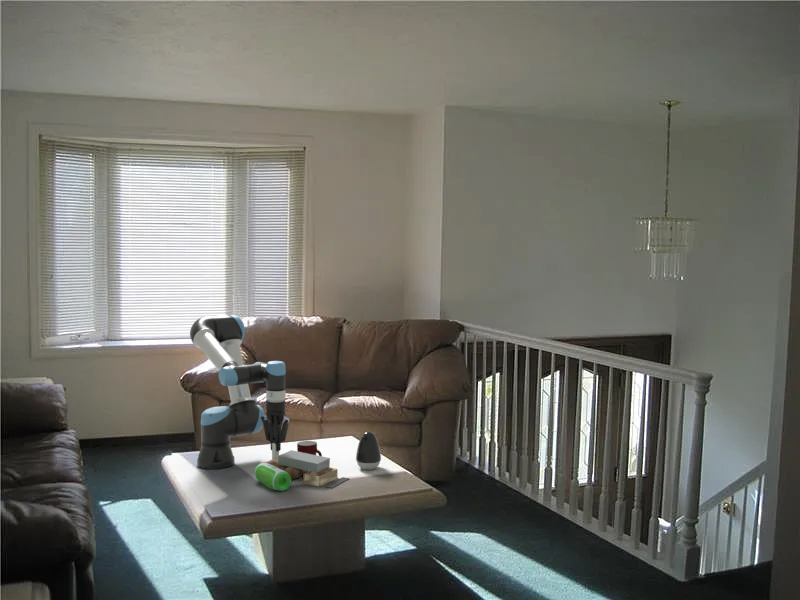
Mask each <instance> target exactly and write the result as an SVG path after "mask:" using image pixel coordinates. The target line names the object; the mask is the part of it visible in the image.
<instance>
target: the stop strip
mask: <svg viewBox="0 0 800 600" xmlns="http://www.w3.org/2000/svg"><path fill="white" fill-rule="evenodd" d="M349 480H350V477H344V476H343V477H340V478H339V479H337V480H336V479H335V481H334V480H333V481H332V482H331V483H329V484H327V485H325V486H324V487H325V488H327V489H333V488H335V487H337V486H339V485H341V484H343V483H344V482H346V481H349Z"/></svg>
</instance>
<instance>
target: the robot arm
mask: <svg viewBox="0 0 800 600" xmlns="http://www.w3.org/2000/svg"><path fill="white" fill-rule="evenodd" d="M245 335H246V327H245V324H244V322H243V320H242V319H241V317H239V316H238V315H234V314H233V315H230V314H226V315H225V314H224V315H205V316H202V317H199V318H198V319H197V320H195V321H194V322H193V323H192V324H191V327H190V331H189V337H190V340H191V342H192V344H193V345H194V346H195V347H196V348H198V349H200V350H201V351H202V352H203V353H204V354H205V356H206V357H207V358H208V359H209V361H210V362H211V363H212V364H213V366H214V368H216V369H217V370H218V380H219V383H220V385H222V386H224V387H227V388H228V393H229V397H230V403H229V405H228V406H227V405H226V406H225V405H220V406H213V407H209V408H207V409H205V410H204V411H202V413H201V414H200V438H201V439H200V443H201V445H200V446H201V447H200V449H199V454H198V457H197V459H196V461H197V462H196V465H197V467H198V466H199V467H198V468H200V467H201V469H205V468H207V470H208V469H209V470H217V469H224V468H229V467H232V466H234V465H235V456H234V453H233V449H232V447H231V438H234V437H238V436H240V437H241V436H245V435H252V434H256V433H259V432H261V430H262V429H263V430H264V435H265V439H266V441H268V442H269V443H270V450H271V460H272V459H274V460H276V459H278V456H279V455H280V451H281V450H282V449H281V447H282V445H281V443H283V442H285V441H286V439H287V434H288V429H289V424H290V422H291V419H292V418H288V417H287V416H286V401H285V400H286V383H287V382H286V381H287V380H286V379H287V378H286V377H287V376H286V374H287V373H286V372H287V371H286V364H285V361H280V360H271V361H268V362H263V361H262V362H261V361H256V362H254V363H253V364H244V359H243V356H242V351H241V345H242V344H243V339H244V338H245ZM257 383H265V384H266V385H265V387H266V388H265V389H266V390H265V391H266V392H265V394H266V397H265V399H266V402H265V403H266V404H265V409H266V412H265V411H264V408H263V407H262V406H261V405H259V404H257V402H256V399H255V398H253V397H252V396H251V395H252V394H251V391H250V387H249V384H257Z"/></svg>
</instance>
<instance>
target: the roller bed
mask: <svg viewBox="0 0 800 600" xmlns="http://www.w3.org/2000/svg"><path fill="white" fill-rule="evenodd" d="M264 463H268V464H271V465H273V466H275V467H277V468H279V469H281V470H283V471H285V472H287V473H288V474H289V475H290V477H291V481H292V480H294V479H297V478H298V477H301V476H302V475H303V474H305V473H307V472H309V471H306V470H302V469H297V468H292V467H288V466H283V465H278V459H276V460H274V459H272V458H271V460H268V461H266V462H264Z"/></svg>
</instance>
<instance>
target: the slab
mask: <svg viewBox="0 0 800 600" xmlns="http://www.w3.org/2000/svg"><path fill="white" fill-rule="evenodd" d="M330 460H331V457H327V456H323V455H322V456H319V455H317V454H316V455H312V454H307V453H302V452H298V451H297V450H293V449H292V450H289V451H287V452H284V453H282V454H279V456H278V465H283V466H288V467H292V468H297V469H302V470H306V471H308V472H309V471H311V472H316V473H318V472H320V471H322V470H324V469H326V468H328V467H331V466H330V464H331V463H330V462H331V461H330Z"/></svg>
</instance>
